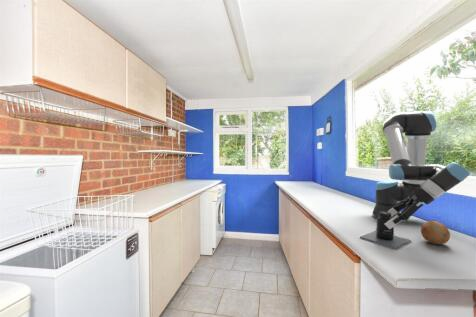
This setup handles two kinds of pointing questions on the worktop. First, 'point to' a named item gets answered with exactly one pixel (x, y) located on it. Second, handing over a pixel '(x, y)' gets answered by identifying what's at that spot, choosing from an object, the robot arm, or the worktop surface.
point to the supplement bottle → (384, 226)
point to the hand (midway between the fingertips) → (385, 222)
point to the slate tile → (393, 244)
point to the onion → (435, 232)
